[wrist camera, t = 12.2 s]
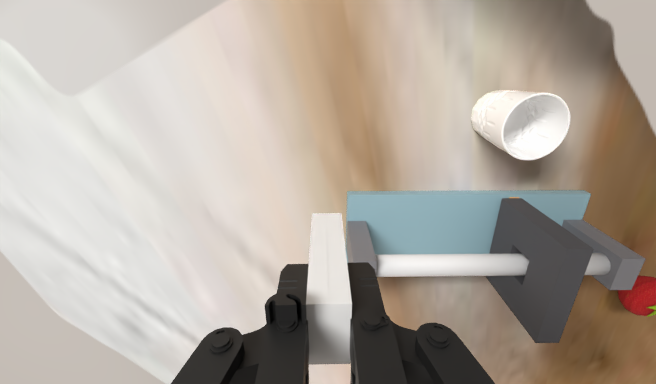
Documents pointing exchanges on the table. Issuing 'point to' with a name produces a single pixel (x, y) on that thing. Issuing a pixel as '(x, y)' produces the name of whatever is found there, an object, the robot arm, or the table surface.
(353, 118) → the table surface
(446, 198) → the pipe stand
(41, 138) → the table surface
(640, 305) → the strawberry
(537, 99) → the white cup
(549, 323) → the dark grey square plate
